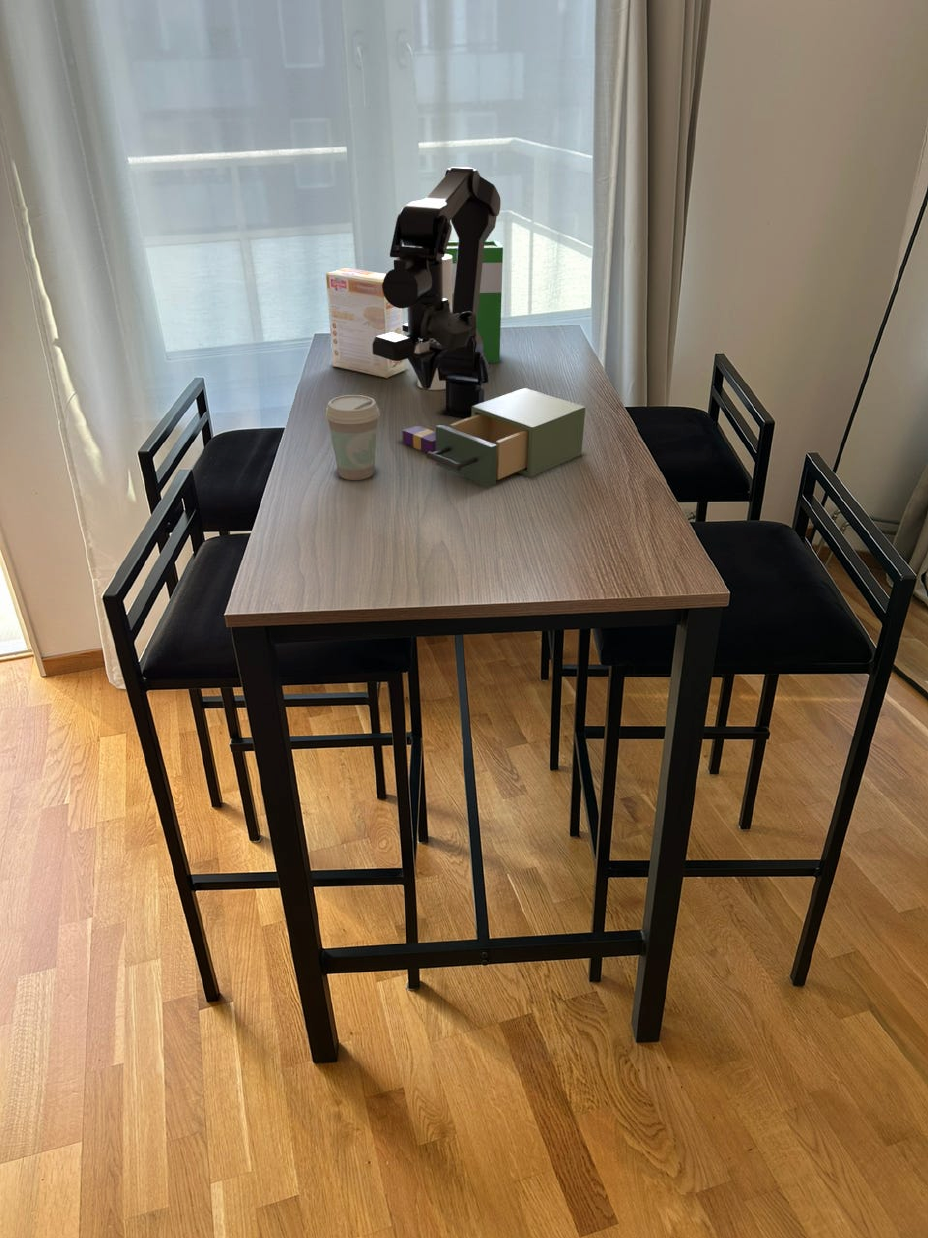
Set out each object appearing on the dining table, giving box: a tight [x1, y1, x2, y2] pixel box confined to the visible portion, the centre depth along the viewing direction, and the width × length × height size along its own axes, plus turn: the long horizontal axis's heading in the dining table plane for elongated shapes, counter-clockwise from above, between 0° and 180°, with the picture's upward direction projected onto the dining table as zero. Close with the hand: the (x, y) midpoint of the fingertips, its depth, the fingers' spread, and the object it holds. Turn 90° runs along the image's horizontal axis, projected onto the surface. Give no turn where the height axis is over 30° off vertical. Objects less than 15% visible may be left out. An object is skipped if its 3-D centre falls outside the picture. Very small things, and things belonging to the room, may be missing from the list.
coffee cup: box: [325, 394, 381, 481], centre depth 143 cm, size 9×9×12 cm
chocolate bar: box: [402, 424, 436, 453], centre depth 156 cm, size 8×4×2 cm, turn 46°
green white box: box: [419, 240, 504, 364], centre depth 193 cm, size 18×7×24 cm, turn 98°
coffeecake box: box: [325, 267, 406, 379], centre depth 187 cm, size 15×7×20 cm, turn 58°
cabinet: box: [471, 387, 586, 478], centre depth 151 cm, size 14×14×9 cm
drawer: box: [425, 414, 529, 488], centre depth 144 cm, size 17×12×7 cm
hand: (426, 388), depth 150 cm, fingers closed
